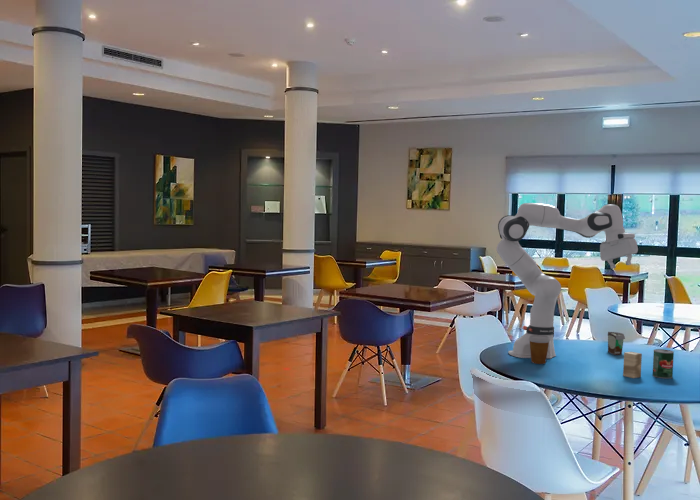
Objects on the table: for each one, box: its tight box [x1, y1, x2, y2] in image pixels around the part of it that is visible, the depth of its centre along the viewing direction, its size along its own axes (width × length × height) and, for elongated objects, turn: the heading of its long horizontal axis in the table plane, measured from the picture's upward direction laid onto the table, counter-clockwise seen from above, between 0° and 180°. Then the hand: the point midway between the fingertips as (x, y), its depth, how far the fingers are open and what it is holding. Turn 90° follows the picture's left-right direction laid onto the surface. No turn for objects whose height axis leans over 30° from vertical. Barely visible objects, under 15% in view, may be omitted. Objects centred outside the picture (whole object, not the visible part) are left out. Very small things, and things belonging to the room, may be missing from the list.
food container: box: [607, 331, 626, 356], centre depth 345 cm, size 12×6×10 cm, turn 179°
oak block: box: [622, 351, 643, 379], centre depth 293 cm, size 5×5×10 cm
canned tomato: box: [652, 348, 675, 380], centre depth 295 cm, size 8×8×11 cm
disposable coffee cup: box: [529, 335, 550, 365], centre depth 318 cm, size 10×10×12 cm
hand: (620, 266), depth 325 cm, fingers open, 8 cm apart
